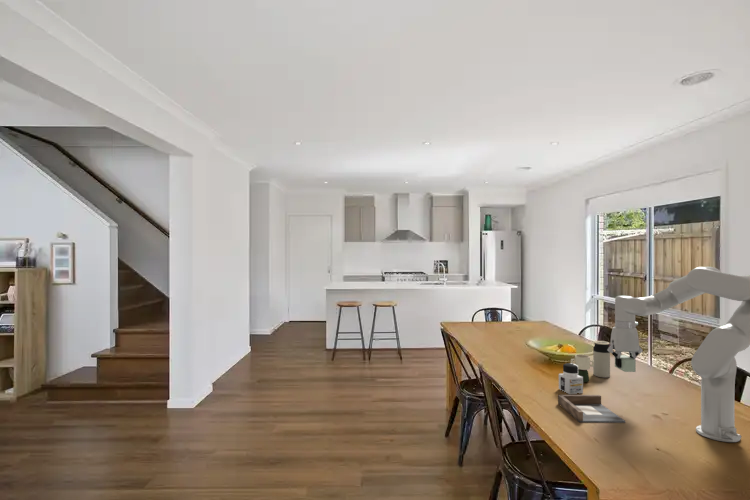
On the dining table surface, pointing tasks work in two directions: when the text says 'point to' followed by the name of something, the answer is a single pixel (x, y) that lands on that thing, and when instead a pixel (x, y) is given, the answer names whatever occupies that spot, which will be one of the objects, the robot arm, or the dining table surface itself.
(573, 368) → the container
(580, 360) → the character mug
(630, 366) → the sage block
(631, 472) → the dining table surface
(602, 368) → the travel mug
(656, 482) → the dining table surface
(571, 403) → the shallow tray
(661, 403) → the dining table surface
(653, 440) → the dining table surface
